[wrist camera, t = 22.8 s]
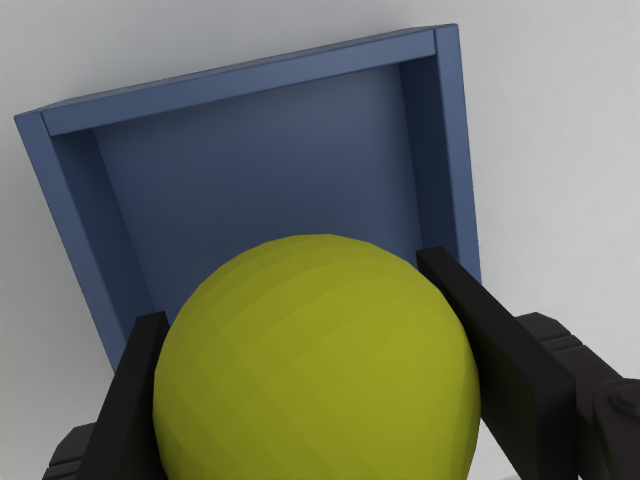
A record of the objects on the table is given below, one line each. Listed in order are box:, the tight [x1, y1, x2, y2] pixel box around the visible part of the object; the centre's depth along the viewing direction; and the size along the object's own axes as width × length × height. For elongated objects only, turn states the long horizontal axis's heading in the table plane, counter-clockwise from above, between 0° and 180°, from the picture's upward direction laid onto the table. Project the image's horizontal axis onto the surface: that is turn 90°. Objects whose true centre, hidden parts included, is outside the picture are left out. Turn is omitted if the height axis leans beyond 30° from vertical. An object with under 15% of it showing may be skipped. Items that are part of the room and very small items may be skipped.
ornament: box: [152, 234, 481, 480], centre depth 11 cm, size 7×7×10 cm
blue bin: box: [14, 23, 482, 374], centre depth 21 cm, size 14×14×5 cm
